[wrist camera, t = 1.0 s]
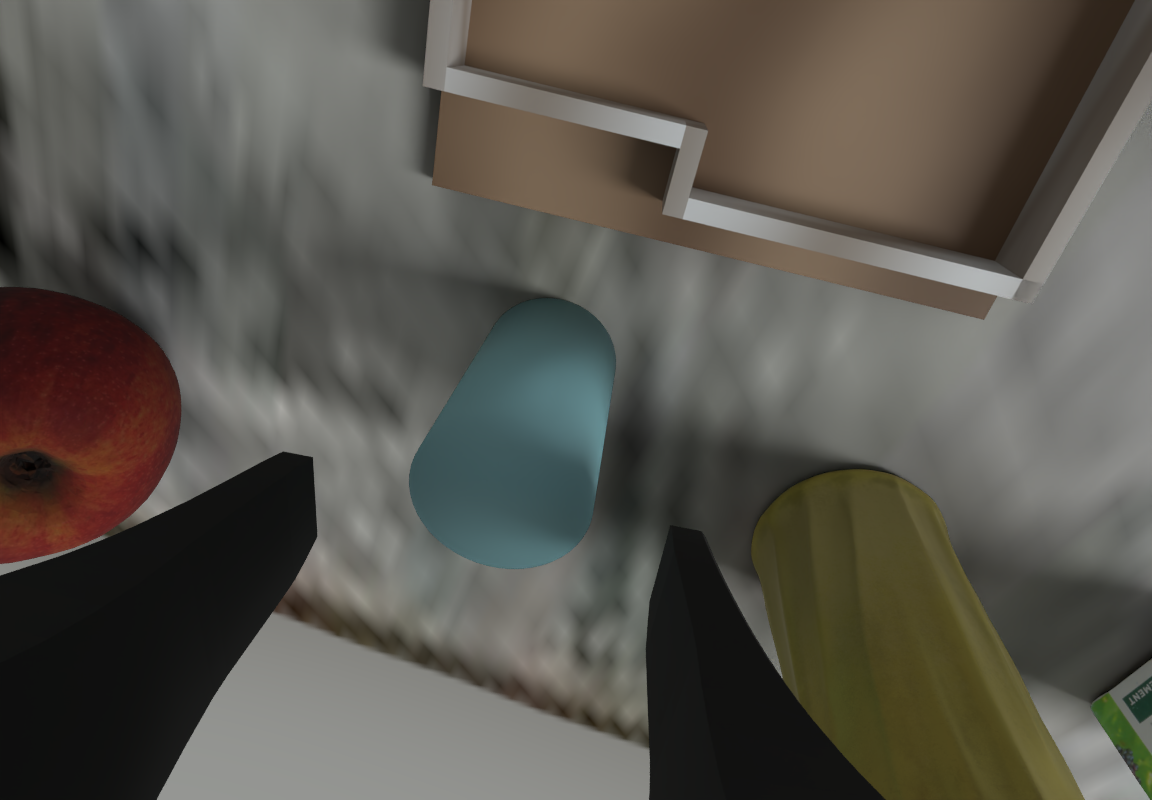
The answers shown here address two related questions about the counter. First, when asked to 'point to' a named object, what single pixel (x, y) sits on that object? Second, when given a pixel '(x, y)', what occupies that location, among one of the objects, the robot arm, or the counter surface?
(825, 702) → the vase
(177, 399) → the apple
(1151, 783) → the syrup box
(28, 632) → the robot arm
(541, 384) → the peg
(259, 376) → the counter surface
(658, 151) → the brown tray
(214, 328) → the counter surface
